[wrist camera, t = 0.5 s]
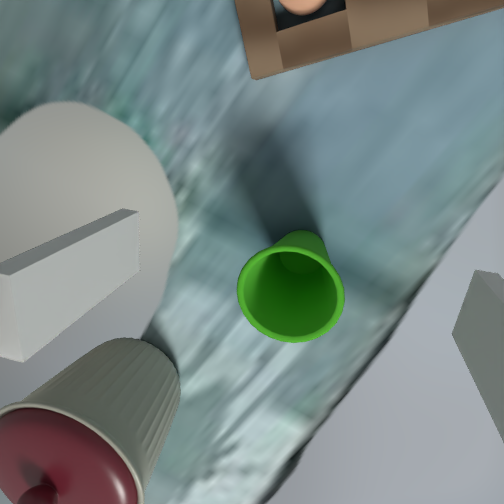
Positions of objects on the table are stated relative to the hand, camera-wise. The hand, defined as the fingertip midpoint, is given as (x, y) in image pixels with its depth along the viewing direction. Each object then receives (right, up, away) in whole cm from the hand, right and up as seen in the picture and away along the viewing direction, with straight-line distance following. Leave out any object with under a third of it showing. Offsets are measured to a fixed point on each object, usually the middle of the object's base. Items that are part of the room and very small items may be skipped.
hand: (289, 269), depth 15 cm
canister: (-17, -16, +38) cm, 45 cm away
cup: (+4, +1, +26) cm, 27 cm away
